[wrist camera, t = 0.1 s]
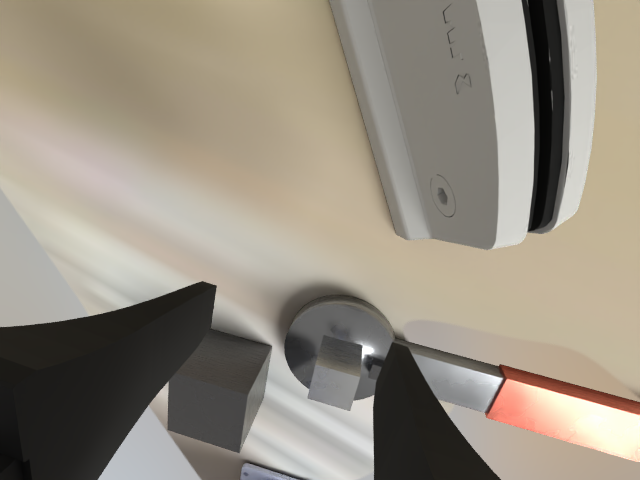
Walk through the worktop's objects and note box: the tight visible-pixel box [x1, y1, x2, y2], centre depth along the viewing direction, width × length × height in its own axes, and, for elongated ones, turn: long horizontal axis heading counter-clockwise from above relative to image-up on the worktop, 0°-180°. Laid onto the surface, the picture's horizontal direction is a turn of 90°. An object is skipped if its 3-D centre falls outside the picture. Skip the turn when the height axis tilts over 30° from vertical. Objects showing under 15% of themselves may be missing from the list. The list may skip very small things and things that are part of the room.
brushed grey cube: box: [168, 329, 272, 453], centre depth 25 cm, size 6×6×5 cm
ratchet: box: [284, 295, 640, 462], centre depth 21 cm, size 8×25×5 cm, turn 79°
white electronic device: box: [329, 0, 597, 250], centre depth 14 cm, size 17×5×10 cm, turn 19°
